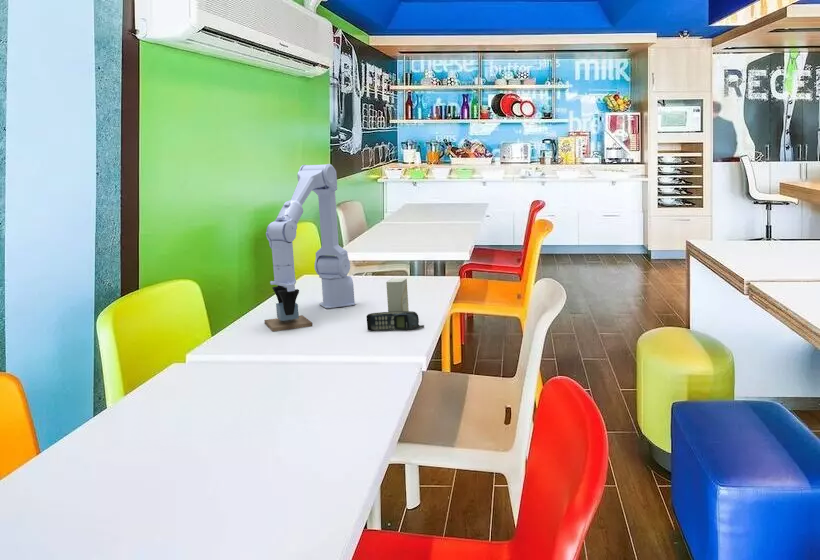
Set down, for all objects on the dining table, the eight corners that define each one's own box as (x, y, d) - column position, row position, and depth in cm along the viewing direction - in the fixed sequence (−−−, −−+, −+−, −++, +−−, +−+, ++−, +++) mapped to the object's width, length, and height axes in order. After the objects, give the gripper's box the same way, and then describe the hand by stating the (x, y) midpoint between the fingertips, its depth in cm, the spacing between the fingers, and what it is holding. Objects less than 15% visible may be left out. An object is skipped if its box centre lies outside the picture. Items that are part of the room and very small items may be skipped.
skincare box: (404, 326, 199) (401, 281, 196) (388, 326, 200) (385, 281, 198) (409, 321, 205) (407, 277, 202) (394, 320, 206) (391, 277, 204)
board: (302, 318, 214) (301, 305, 213) (312, 326, 204) (311, 312, 203) (264, 323, 210) (263, 310, 209) (272, 331, 200) (271, 317, 199)
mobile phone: (365, 314, 194) (422, 311, 193) (367, 312, 197) (423, 308, 196) (367, 333, 195) (424, 329, 194) (368, 330, 198) (424, 327, 197)
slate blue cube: (294, 315, 210) (293, 301, 209) (298, 318, 205) (297, 304, 204) (277, 317, 208) (276, 303, 207) (281, 320, 203) (279, 306, 203)
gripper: (263, 262, 209) (267, 309, 211) (274, 269, 196) (278, 319, 198) (288, 260, 212) (291, 306, 214) (300, 266, 198) (304, 316, 201)
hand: (287, 312), depth 206 cm, fingers closed on slate blue cube, 5 cm apart
